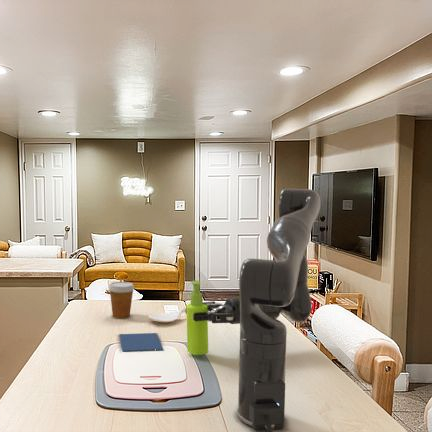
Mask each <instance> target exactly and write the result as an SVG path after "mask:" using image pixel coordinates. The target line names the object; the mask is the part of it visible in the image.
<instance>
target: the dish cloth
mask: <svg viewBox="0 0 432 432" xmlns="http://www.w3.org/2000/svg"><path fill="white" fill-rule="evenodd" d="M119 340H120V345H121V351H122V352H123V353H125V352H126V353H127V352H149V351H150V352H152V351H153V352H154V350H155V349H156V351H164V347H163V345H162V343H161V340H160V339H159V336H158V334H157V332H149V333H148V332H146V333H119Z"/></svg>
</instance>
